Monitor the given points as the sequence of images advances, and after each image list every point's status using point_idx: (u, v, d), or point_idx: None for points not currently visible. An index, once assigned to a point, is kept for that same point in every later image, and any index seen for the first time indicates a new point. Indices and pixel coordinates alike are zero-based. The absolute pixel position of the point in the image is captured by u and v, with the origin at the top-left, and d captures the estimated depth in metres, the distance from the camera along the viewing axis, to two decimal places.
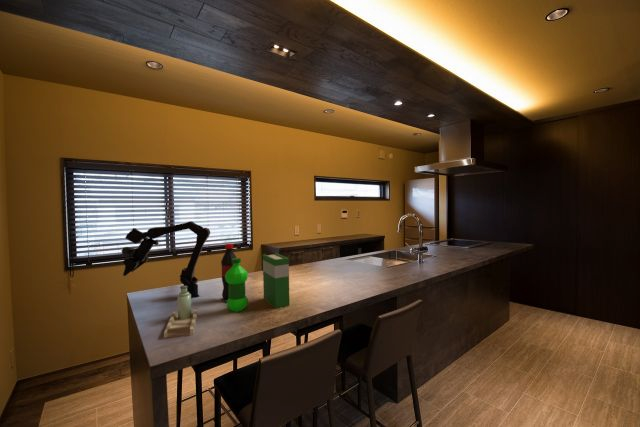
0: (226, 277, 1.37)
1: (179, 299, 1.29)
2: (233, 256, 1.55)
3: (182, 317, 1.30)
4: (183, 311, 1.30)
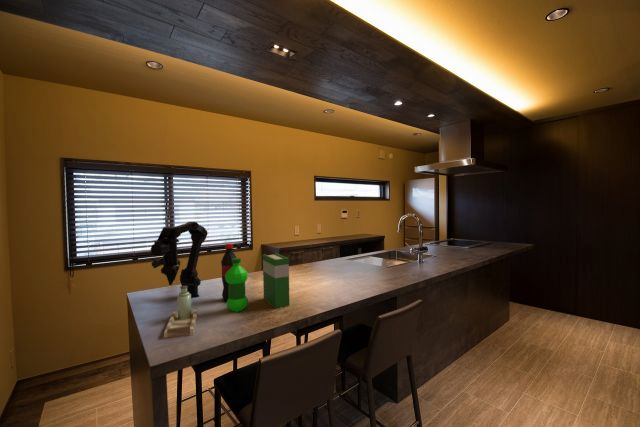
0: (226, 277, 1.37)
1: (179, 299, 1.29)
2: (233, 256, 1.55)
3: (182, 317, 1.30)
4: (183, 311, 1.30)
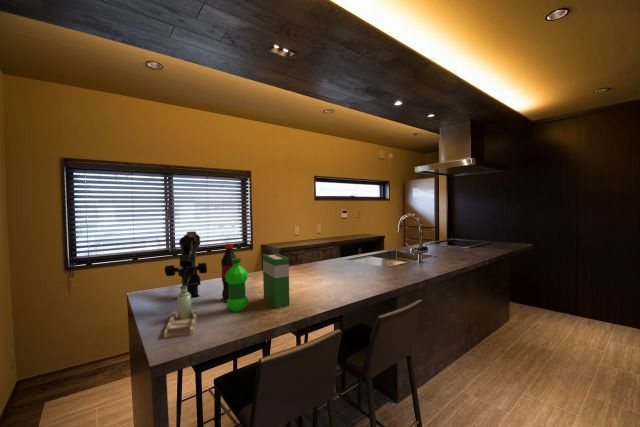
0: (226, 277, 1.37)
1: (179, 299, 1.29)
2: (233, 256, 1.55)
3: (182, 317, 1.30)
4: (183, 311, 1.30)
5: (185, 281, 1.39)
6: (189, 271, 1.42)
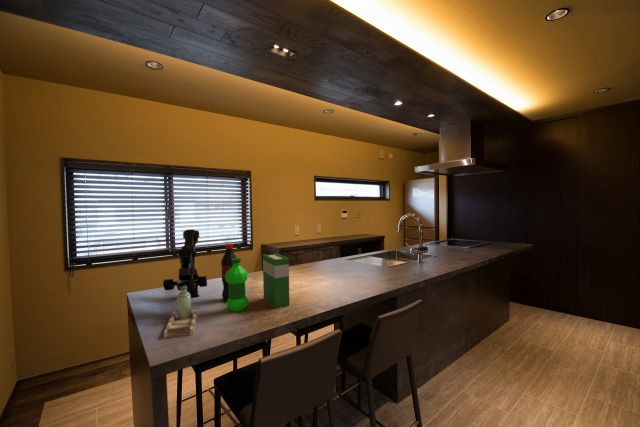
0: (226, 277, 1.37)
1: (179, 300, 1.28)
2: (233, 256, 1.55)
3: (182, 317, 1.29)
4: (183, 312, 1.29)
5: None
6: (188, 285, 1.37)
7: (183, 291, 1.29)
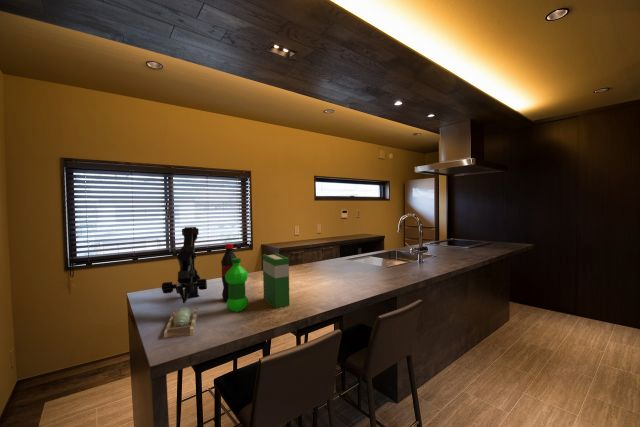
0: (226, 277, 1.37)
1: None
2: (233, 256, 1.55)
3: None
4: None
5: (183, 299, 1.31)
6: (188, 288, 1.33)
7: None
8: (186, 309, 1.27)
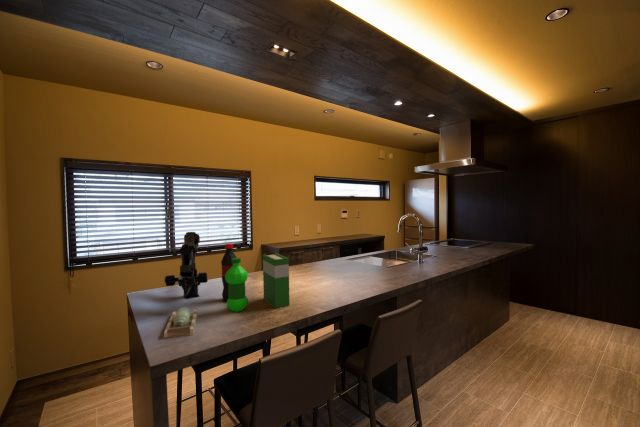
0: (226, 277, 1.37)
1: None
2: (233, 256, 1.55)
3: None
4: None
5: (185, 291, 1.38)
6: (189, 281, 1.40)
7: None
8: (186, 309, 1.27)
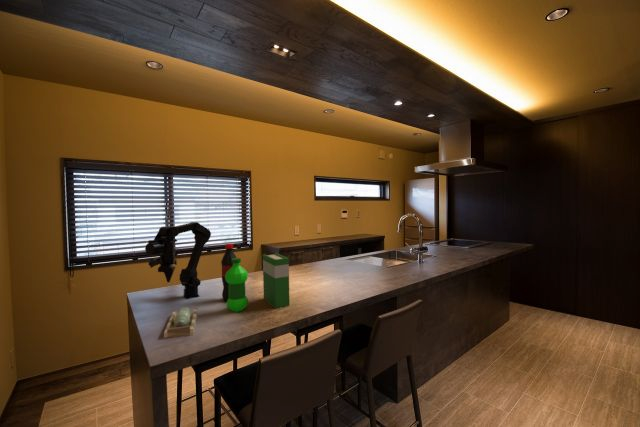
0: (226, 277, 1.37)
1: None
2: (233, 256, 1.55)
3: None
4: None
5: None
6: None
7: None
8: (187, 309, 1.28)
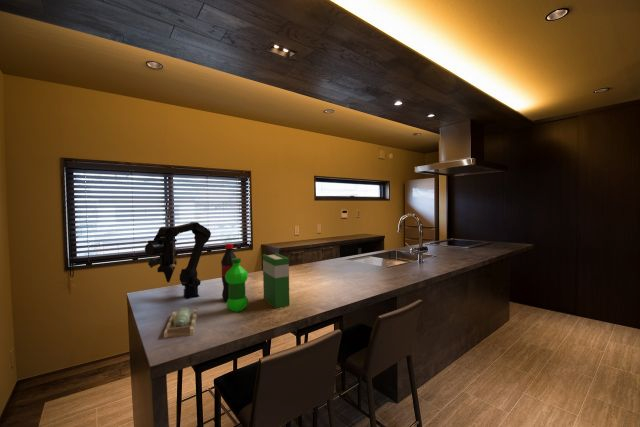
0: (226, 277, 1.37)
1: None
2: (233, 256, 1.55)
3: None
4: None
5: None
6: None
7: None
8: (186, 309, 1.27)
